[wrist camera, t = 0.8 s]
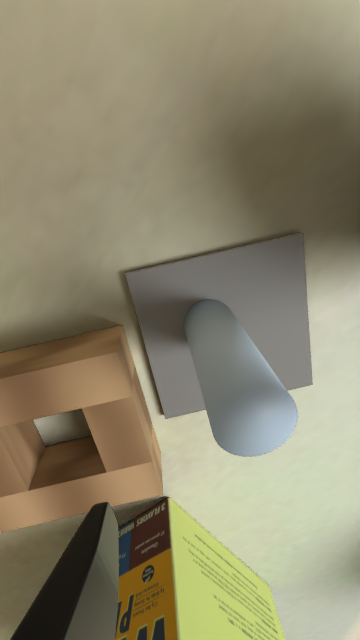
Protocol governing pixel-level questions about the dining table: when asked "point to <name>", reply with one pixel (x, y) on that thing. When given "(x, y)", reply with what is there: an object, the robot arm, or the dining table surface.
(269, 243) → the mat
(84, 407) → the hole block
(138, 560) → the protein box
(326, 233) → the dining table surface
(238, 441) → the peg
